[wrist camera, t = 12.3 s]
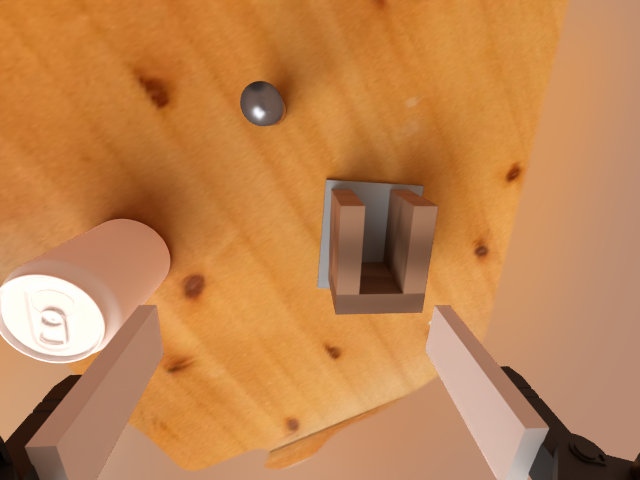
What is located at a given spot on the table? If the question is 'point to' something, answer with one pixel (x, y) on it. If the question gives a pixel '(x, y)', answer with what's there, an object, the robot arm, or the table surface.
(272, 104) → the post
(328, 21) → the table surface
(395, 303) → the c link
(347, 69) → the table surface
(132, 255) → the beverage can
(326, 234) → the mat
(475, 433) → the robot arm
